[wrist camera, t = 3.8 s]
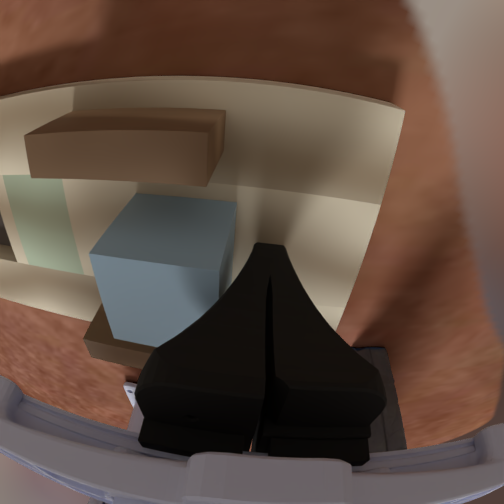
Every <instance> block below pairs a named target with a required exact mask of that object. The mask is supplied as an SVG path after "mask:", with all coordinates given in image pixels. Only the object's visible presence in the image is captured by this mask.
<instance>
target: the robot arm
mask: <svg viewBox="0 0 504 504" xmlns="http://www.w3.org/2000/svg"><path fill="white" fill-rule="evenodd" d="M123 387H124V389H125V391H126V394H127V396H128V398H129V400H130V402H131V404H132V406H133V411H132V415H131V418H130V421H129V425H128V428H127V430H124V429H121V428H117V427H114V426H110V425H107V424H103V423H100V422H97V421H94V420H91V419H87V418H84V417H81V416H78V415H76V414H73V413H70V412H67V411H64V410H62V409H59V408H56V407H54V406H51V405H49V404H46V403H44V402H41V401H39V400H36V399H34V398H31V397H29V396H27V395H25V394H23V392H22V391H21V389H20V388H19V387H18V386H17V385H16V384H15V383H14V382H12V381H11V380H9V379H7V378H5V377H3V376H1V375H0V453H2V454H3V455H5V456H7V457H9V458H10V459H12V460H14V461H16V462H17V463H19V464H21V465H23V466H25V467H27V468H29V469H31V470H32V471H34V472H36V473H38V474H40V475H42V476H44V477H46V478H48V479H50V480H52V481H55V482H57V483H59V484H61V485H63V486H66V487H68V488H70V489H72V490H75V491H77V492H79V493H82V494H84V495H87V496H89V497H90V499H89V502H88V504H462V503H465V502H468V501H471V500H474V499H476V498H479V497H481V496H484V495H486V494H488V493H490V492H492V491H494V490H496V489H498V488H500V487H502V486H504V423H501V424H497V425H493V426H489V427H487V428H485V429H483V430H481V431H480V432H479V433H477V434H476V435H475V436H474V437H473V438H469V439H464V440H460V441H455V442H450V443H445V444H439V445H433V446H427V447H421V448H414V449H406V450H398V451H388V452H377V453H369V443H368V438H370V437H371V426H370V424H371V423H372V422H373V421H374V420H375V419H376V418H377V417H378V416H379V415H380V414H381V413H382V411H383V410H384V408H385V407H386V405H387V397H386V391H385V387H384V384H383V381H382V378H381V375H380V372H379V370H378V369H377V368H376V367H374V366H373V365H372V364H371V363H369V362H368V361H367V360H366V359H364V358H363V357H362V356H360V355H359V354H358V353H357V352H356V351H355V350H354V349H352V348H351V347H350V346H349V345H348V344H347V343H346V342H345V341H344V340H343V339H342V338H341V337H340V336H339V335H338V334H337V333H336V331H335V330H334V329H333V328H332V327H331V326H330V325H329V324H328V322H327V321H326V320H325V319H324V317H323V316H322V315H321V313H320V312H319V311H318V309H317V308H316V306H315V305H314V303H313V302H312V300H311V299H310V297H309V296H308V294H307V292H306V291H305V289H304V287H303V285H302V283H301V282H300V280H299V278H298V276H297V274H296V272H295V270H294V268H293V265H292V263H291V261H290V258H289V256H288V253H287V250H286V248H285V246H284V245H277V244H269V243H260V242H257V243H255V244H254V246H253V249H252V252H251V254H250V256H249V258H248V260H247V262H246V263H245V265H244V267H243V268H242V270H241V271H240V273H239V274H238V276H237V277H236V279H235V280H234V281H233V283H232V284H231V285H230V287H229V288H228V289H227V290H226V292H225V293H224V294H223V295H222V296H221V297H220V298H219V299H218V301H217V302H216V303H215V304H214V305H213V306H212V307H211V308H210V309H209V310H207V311H206V312H205V313H204V314H203V315H202V316H201V317H200V318H199V319H197V320H196V321H195V322H194V323H192V324H191V325H190V326H188V327H187V328H186V329H185V330H183V331H182V332H181V333H179V334H178V335H176V336H175V337H173V338H172V339H170V340H168V341H167V342H165V343H163V344H162V345H160V346H159V347H157V348H155V349H154V350H153V352H152V353H151V355H150V356H149V358H148V360H147V362H146V363H145V365H144V367H143V369H142V371H141V374H140V376H139V379H138V383H137V384H135V383H130V382H125V383H124V385H123ZM252 438H253V440H252ZM251 442H252V449H251V452H249V449H250V445H251Z"/></svg>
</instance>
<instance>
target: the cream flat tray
mask: <svg viewBox="0 0 504 504" xmlns="http://www.w3.org/2000/svg"><path fill="white" fill-rule="evenodd" d="M404 114H405V110H403V109H401V108H400V107H398V106H396V105H394V104H392V103H390V102H386V101H382V100H378V99H373V98H369V97H365V96H360V95H356V94H351V93H346V92H341V91H336V90H330V89H325V88H319V87H313V86H306V85H300V84H292V83H285V82H276V81H267V80H257V79H246V78H232V77H213V76H144V77H125V78H112V79H101V80H91V81H82V82H75V83H67V84H61V85H54V86H48V87H43V88H37V89H32V90H27V91H22V92H17V93H13V94H9V95H4V96H0V297H1V298H4V299H7V300H10V301H14V302H17V303H21V304H24V305H28V306H31V307H35V308H39V309H42V310H46V311H50V312H54V313H58V314H62V315H66V316H70V317H74V318H78V319H82V320H87V321H91V324H90V326H89V328H88V330H87V332H86V334H85V336H84V338H83V340H84V342H85V344H86V346H87V349H88V351H89V353H90V355H91V357H93V358H97V359H101V360H105V361H109V362H113V363H117V364H121V365H126V366H130V367H135V368H139V369H143V367H144V365H145V363H146V362H147V360H148V358H149V356H150V355H151V353H152V352H153V350H154V349H155V348H157V347H154V346H149V345H144V344H139V343H134V342H129V341H124V340H120V339H115V338H114V337H113V334H112V331H111V328H110V325H109V322H108V319H107V316H106V313H105V310H104V306H103V303H102V300H101V297H100V293H99V290H98V286H97V283H96V279H95V276H94V272H93V268H92V264H91V261H90V257H89V252H90V251H91V250H92V248H93V247H94V246H95V244H96V243H97V242H98V240H99V239H100V238H101V236H102V235H103V234H104V232H105V231H106V230H107V228H108V227H109V226H110V225H111V223H112V222H113V221H114V220H115V218H116V217H117V216H118V215H119V213H120V212H121V211H122V210H123V208H124V207H125V206H126V205H127V204H128V202H129V201H130V200H131V199H132V197H133V196H134V195H135V194H136V193H140V194H153V195H165V196H177V197H188V198H199V199H209V200H219V201H228V202H237V207H236V221H235V236H234V250H233V266H232V281H231V284H232V283H233V281H234V280H235V279H236V277H237V276H238V274H239V273H240V271H241V270H242V268H243V267H244V265H245V263H246V262H247V260H248V258H249V256H250V254H251V252H252V249H253V246H254V244H255V243H257V242H260V243H269V244H277V245H284V246H285V248H286V250H287V253H288V256H289V258H290V261H291V263H292V265H293V268H294V270H295V272H296V274H297V276H298V278H299V280H300V282H301V283H302V285H303V287H304V289H305V291H306V292H307V294H308V296H309V297H310V299H311V300H312V302H313V303H314V305H315V306H316V308H317V309H318V311H319V312H320V313H321V315H322V316H323V317H324V319H325V320H326V321H327V322H328V324H329V325H330V326H331V327H332V328H333V329H334V330H335V331H336V329H337V326H338V324H339V322H340V319H341V317H342V314H343V312H344V309H345V307H346V304H347V301H348V299H349V296H350V294H351V291H352V288H353V286H354V283H355V280H356V278H357V275H358V272H359V269H360V267H361V264H362V261H363V258H364V255H365V252H366V249H367V246H368V243H369V240H370V237H371V234H372V231H373V228H374V225H375V222H376V219H377V216H378V212H379V209H380V206H381V203H382V199H383V196H384V192H385V189H386V185H387V182H388V178H389V175H390V171H391V167H392V164H393V160H394V156H395V152H396V148H397V144H398V140H399V136H400V132H401V128H402V123H403V119H404Z"/></svg>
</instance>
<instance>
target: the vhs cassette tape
mask: <svg viewBox="0 0 504 504" xmlns="http://www.w3.org/2000/svg"><path fill="white" fill-rule="evenodd" d="M352 349H354V350H355V351H356V352H357V353H358V354H359V355H360V356H362V357H363V358H364V359H366V360H367V361H368V362H369V363H371V364H372V365H373V366H374V367H376V368H377V369H378V370H379V372H380V375H381V378H382V381H383V384H384V387H385V391H386V397H387V405H386V407H385V408H384V410H383V411H382V413H381V414H380V415H379V416H378V417H377V418H376V419H375V420H374V421H373V422H372V423H371V424H370V426H371V437H370V438H368V443H369V453H377V452H388V451H398V450H406V449H407V446H406V439H405V434H404V428H403V424H402V417H401V412H400V408H399V405H398V398H397V393H396V389H395V386H394V379H393V375H392V372H391V367H390V362H389V358H388V354H387V350H386V349H385V348H381V347H365V348H357V349H355V348H353V347H352Z"/></svg>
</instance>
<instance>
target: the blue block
mask: <svg viewBox="0 0 504 504" xmlns="http://www.w3.org/2000/svg"><path fill="white" fill-rule="evenodd" d="M236 207H237V202H228V201H219V200H209V199H199V198H188V197H177V196H165V195H153V194H140V193H136V194H135V195H134V196H133V197H132V199H131V200H130V201H129V202H128V204H127V205H126V206H125V207H124V208H123V210H122V211H121V212H120V213H119V215H118V216H117V217H116V218H115V220H114V221H113V222H112V223H111V225H110V226H109V227H108V228H107V230H106V231H105V232H104V234H103V235H102V236H101V238H100V239H99V240H98V242H97V243H96V244H95V246H94V247H93V248H92V250H91V251H90V252H89V257H90V261H91V264H92V268H93V272H94V276H95V279H96V283H97V286H98V290H99V293H100V297H101V300H102V303H103V306H104V310H105V313H106V316H107V319H108V322H109V325H110V328H111V331H112V334H113V337H114V338H115V339H120V340H124V341H129V342H134V343H139V344H144V345H149V346H154V347H159V346H160V345H162V344H163V343H165V342H167V341H168V340H170V339H172V338H173V337H175V336H176V335H178V334H179V333H181V332H182V331H183V330H185V329H186V328H187V327H188V326H190V325H191V324H192V323H194V322H195V321H196V320H197V319H199V318H200V317H201V316H202V315H203V314H204V313H205V312H206V311H207V310H209V309H210V308H211V307H212V306H213V305H214V304H215V303H216V302H217V301H218V299H219V298H220V297H221V296H222V295H223V294H224V293H225V292H226V290H227V289H228V288H229V287H230V285H231V281H232V266H233V250H234V236H235V221H236Z"/></svg>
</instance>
